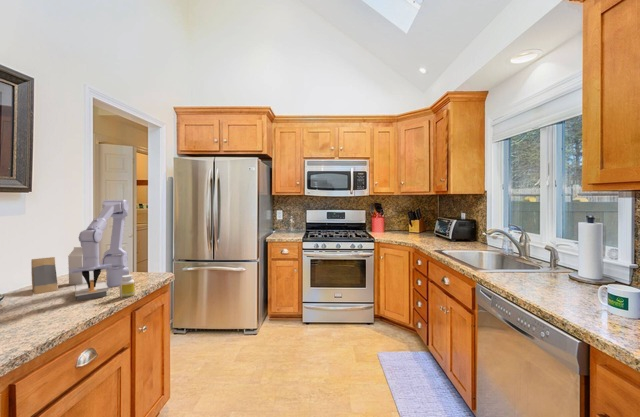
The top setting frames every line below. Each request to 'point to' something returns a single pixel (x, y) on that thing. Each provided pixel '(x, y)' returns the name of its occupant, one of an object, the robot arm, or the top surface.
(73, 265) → the milk carton
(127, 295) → the supplement bottle
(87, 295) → the tub
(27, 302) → the top surface
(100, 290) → the lid
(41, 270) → the sandwich container
